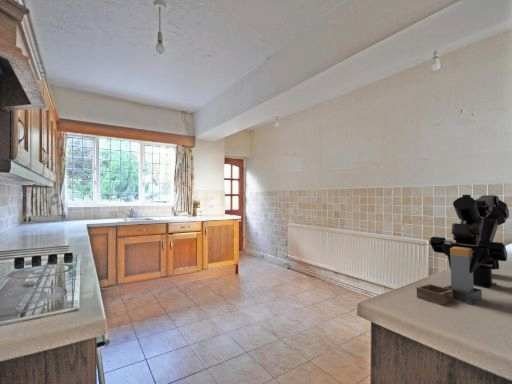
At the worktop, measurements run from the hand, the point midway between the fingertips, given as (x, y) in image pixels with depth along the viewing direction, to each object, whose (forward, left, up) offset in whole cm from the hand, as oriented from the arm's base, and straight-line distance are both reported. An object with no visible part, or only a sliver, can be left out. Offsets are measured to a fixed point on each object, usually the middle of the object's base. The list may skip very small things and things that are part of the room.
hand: (460, 270), depth 81 cm
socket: (-1, 0, -9) cm, 9 cm away
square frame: (+6, -4, -9) cm, 12 cm away
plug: (-1, 0, -7) cm, 7 cm away
